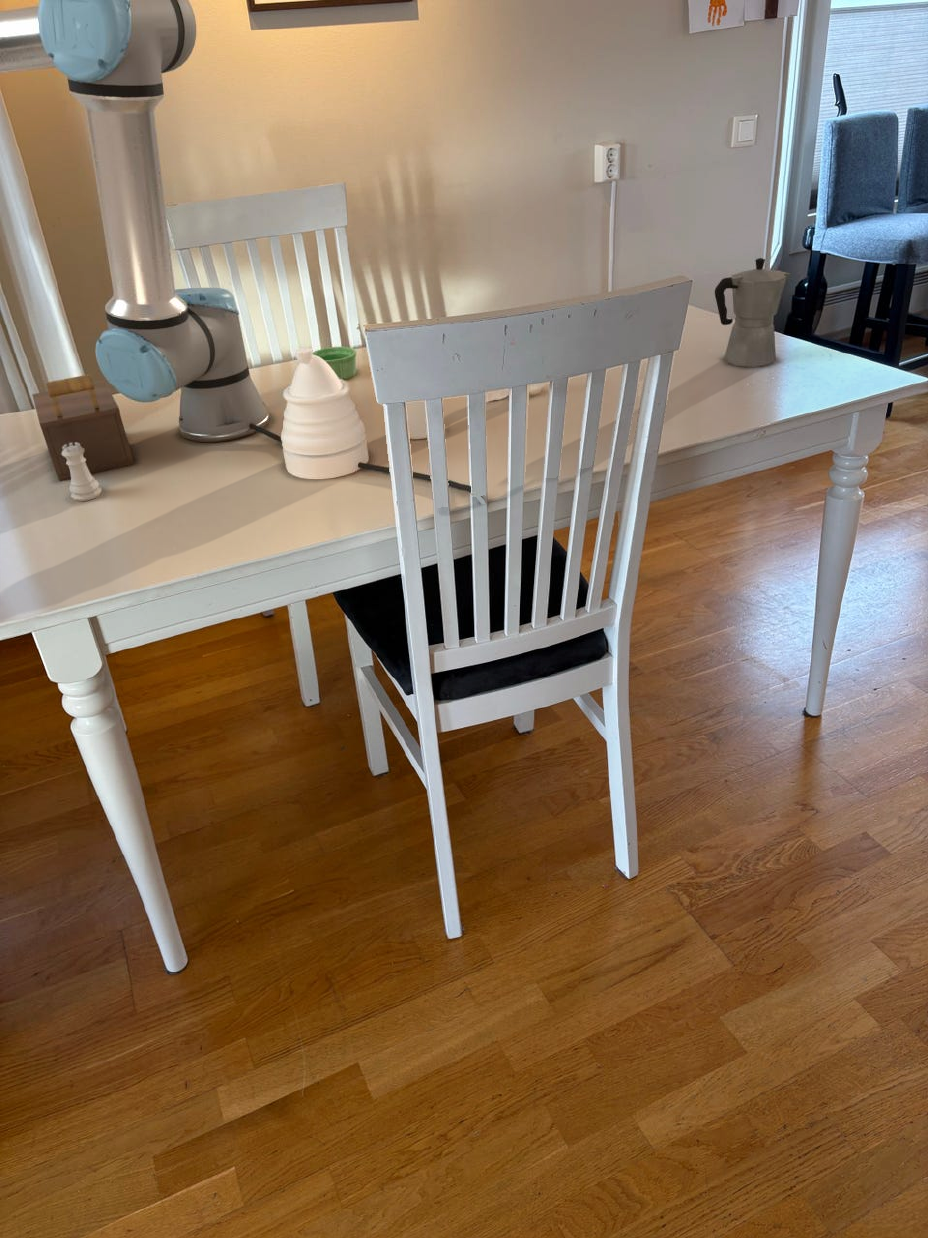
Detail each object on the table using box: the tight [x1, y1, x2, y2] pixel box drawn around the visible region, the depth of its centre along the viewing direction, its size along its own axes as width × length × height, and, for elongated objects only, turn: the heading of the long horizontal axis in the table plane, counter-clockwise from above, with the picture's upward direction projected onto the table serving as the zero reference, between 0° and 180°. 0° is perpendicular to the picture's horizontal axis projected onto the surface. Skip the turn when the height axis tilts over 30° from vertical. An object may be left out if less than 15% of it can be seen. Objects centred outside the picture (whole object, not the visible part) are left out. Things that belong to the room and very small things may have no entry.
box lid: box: [31, 374, 121, 430], centre depth 142 cm, size 16×12×6 cm
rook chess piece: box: [61, 442, 103, 502], centre depth 133 cm, size 4×4×8 cm
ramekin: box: [313, 346, 357, 381], centre depth 176 cm, size 9×9×4 cm
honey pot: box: [280, 347, 370, 480], centre depth 135 cm, size 13×13×18 cm
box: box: [41, 411, 135, 482], centre depth 147 cm, size 16×12×9 cm
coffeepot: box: [714, 257, 791, 368], centre depth 163 cm, size 15×9×18 cm, turn 111°
